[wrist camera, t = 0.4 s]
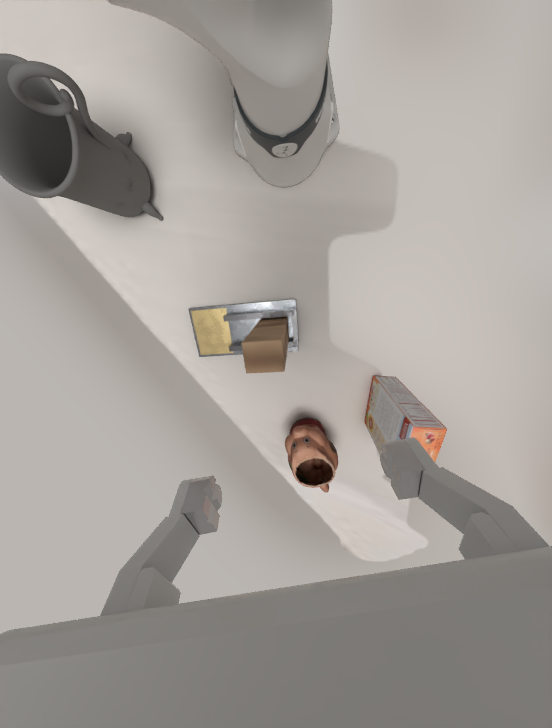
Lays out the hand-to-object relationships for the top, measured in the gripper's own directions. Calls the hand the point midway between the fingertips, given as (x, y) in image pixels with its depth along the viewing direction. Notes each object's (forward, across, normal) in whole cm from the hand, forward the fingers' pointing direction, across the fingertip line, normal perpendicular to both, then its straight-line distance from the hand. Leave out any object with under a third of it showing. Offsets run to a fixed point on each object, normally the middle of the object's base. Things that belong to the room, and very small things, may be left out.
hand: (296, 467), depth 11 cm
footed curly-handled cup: (+52, +22, -24) cm, 62 cm away
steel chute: (+45, +8, +8) cm, 47 cm away
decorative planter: (+40, -2, +41) cm, 57 cm away
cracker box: (+39, -21, +32) cm, 55 cm away
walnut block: (+43, +1, +9) cm, 44 cm away
